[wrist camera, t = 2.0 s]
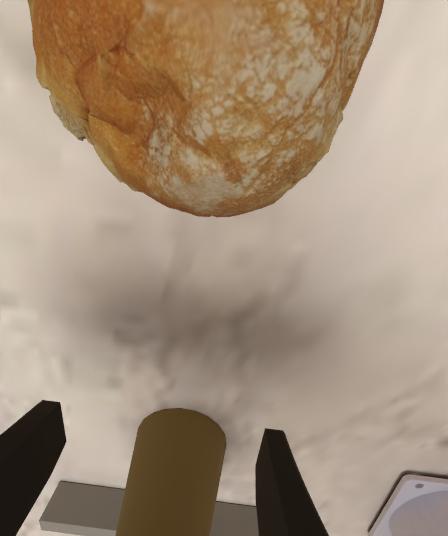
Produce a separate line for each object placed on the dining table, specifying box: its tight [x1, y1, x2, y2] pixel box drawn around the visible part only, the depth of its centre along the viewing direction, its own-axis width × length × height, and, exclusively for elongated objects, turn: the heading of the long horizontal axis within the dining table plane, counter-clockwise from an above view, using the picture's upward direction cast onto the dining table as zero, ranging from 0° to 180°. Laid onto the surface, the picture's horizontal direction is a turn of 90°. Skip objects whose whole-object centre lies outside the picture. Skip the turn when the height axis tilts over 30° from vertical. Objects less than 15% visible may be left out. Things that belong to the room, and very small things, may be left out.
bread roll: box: [28, 0, 384, 217], centre depth 9 cm, size 10×10×8 cm
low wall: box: [39, 481, 259, 536], centre depth 21 cm, size 18×1×2 cm, turn 83°
